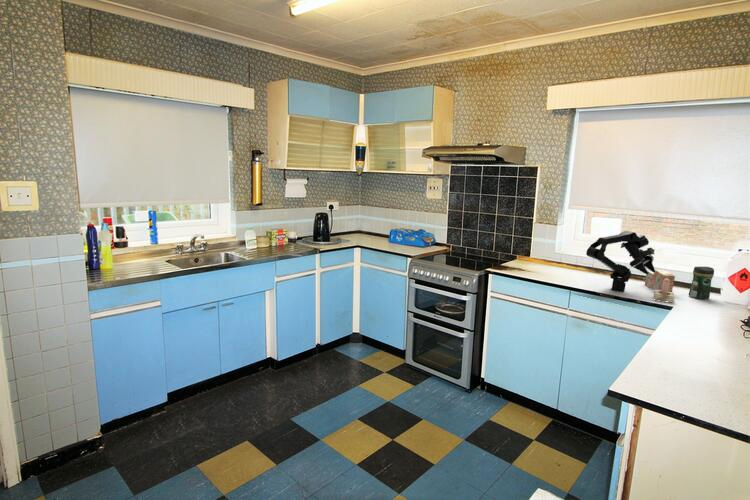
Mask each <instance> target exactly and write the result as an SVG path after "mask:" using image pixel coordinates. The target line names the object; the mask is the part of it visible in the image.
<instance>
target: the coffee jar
mask: <svg viewBox="0 0 750 500" xmlns="http://www.w3.org/2000/svg"><path fill="white" fill-rule="evenodd" d="M692 275H693V276H692V277H693V278H692V281H691V285H690V287H689V291H688V296H689V297H690V298H692V297H693V299H698V300H708V299H710V297H711V287H712V279H713V277H714V276H715V269H714V267H710V266H694V268H693V271H692Z"/></svg>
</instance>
